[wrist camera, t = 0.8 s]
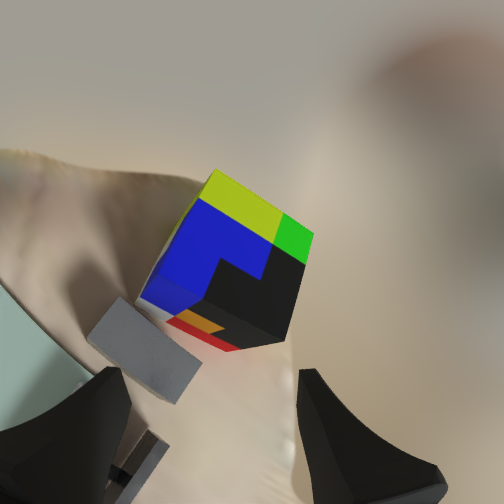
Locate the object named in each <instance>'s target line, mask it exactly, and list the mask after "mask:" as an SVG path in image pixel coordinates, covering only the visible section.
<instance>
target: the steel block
mask: <svg viewBox="0 0 504 504" xmlns="http://www.w3.org/2000/svg"><path fill="white" fill-rule="evenodd" d="M87 343H88V344H90V345H91V346H92V347H93V348H94V349H95V350H96V351H98V352H99V353H100V354H101V355H102V356H104V357H105V358H106V359H107V360H108V361H110V362H111V363H112V364H113V365H115V366H116V367H119V368H120V369H121V371H122V372H123V373H125V374H126V375H127V376H129V377H130V378H131V379H133V380H134V381H135V382H137V383H138V384H139V385H141V386H142V387H143V388H145V389H146V390H147V391H149V392H150V393H152V394H153V395H154V396H156V397H157V398H159V399H161V400H164V401H166V402H169V403H172V404H174V405H175V404H176V402H177V401H178V399H179V398H180V396H181V395H182V393H183V392H184V390H185V389H186V387H187V386H188V384H189V383H190V381H191V380H192V378H193V377H194V375H195V374H196V372H197V370H198V369H199V367H200V366H201V364H202V362H201V361H199V360H198V359H197V358H195V357H194V356H193V355H191V354H190V353H189V352H187V351H186V350H185V349H183V348H182V347H181V346H180V345H178V344H177V343H176V342H174V341H173V340H172V339H171V338H169V337H168V336H167V335H166V334H164V333H163V332H162V331H161V330H159V329H158V328H157V327H156V326H154V325H153V324H152V323H151V322H150V321H148V320H147V319H146V318H145V317H144V316H142V315H141V314H140V313H139V312H138V311H136V310H135V309H134V308H133V307H132V306H131V305H129V304H128V303H127V302H126V301H125V300H124V299H123V298H121V297H120V296H119V298H118V299H117V300H116V301H115V302H114V304H113V305H112V306H111V307H110V309H109V310H108V311H107V312H106V313H105V315H104V316H103V317H102V318H101V320H100V321H99V322H98V323H97V325H96V326H95V327H94V328H93V330H92V331H91V332H90V333H89V335H88V336H87Z"/></svg>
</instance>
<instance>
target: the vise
mask: <svg viewBox="0 0 504 504" xmlns="http://www.w3.org/2000/svg"><path fill="white" fill-rule="evenodd" d="M93 377H94V376H93V375H92V374H91V373H89V372H88V371H87V370H86V369H85V368H83V367H82V366H81V365H80V364H79V363H78V362H76V361H75V360H74V359H73V358H72V357H71V356H70V355H69V354H67V353H66V352H65V351H64V350H63V349H62V348H61V347H60V346H59V345H58V344H57V343H55V342H54V341H53V340H52V339H51V338H50V337H49V336H48V335H47V334H46V333H45V332H44V331H43V330H42V329H41V328H40V327H39V326H38V325H37V324H36V323H35V322H34V321H33V320H32V319H31V318H30V317H29V316H28V315H27V314H26V313H25V311H24V310H23V309H22V308H21V307H20V306H19V305H18V304H17V303H16V302H15V301H14V299H13V298H12V297H11V296H10V295H9V294H8V293H7V291H6V290H5V289H4V288H3V287H2V286H1V284H0V431H2V430H6V429H9V428H12V427H14V426H17V425H20V424H22V423H24V422H26V421H29V420H31V419H33V418H35V417H37V416H39V415H41V414H43V413H44V412H46V411H48V410H50V409H51V408H53V407H54V406H56V405H57V404H59V403H60V402H62V401H63V400H64V399H66V398H67V397H69V395H70V394H71V393H72V391H73V390H74V388H75V387H76V386H77V384H78V383H79V382H80V380H81V381H83V382H84V383H87V382H88V381H89V380H90V379H92V378H93Z"/></svg>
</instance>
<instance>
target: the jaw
mask: <svg viewBox="0 0 504 504" xmlns="http://www.w3.org/2000/svg"><path fill="white" fill-rule="evenodd" d="M84 384H85V383H84V382H83V381H81V380H80V382H79V383H78V384H77V386H76V387H75V388H74V390H73V391H72V393H71V394H73V393H74V392H75V391H77V390H78V389H79V388H80V387H82V386H83V385H84ZM71 394H70V395H71ZM70 395H69V396H70ZM169 447H170V446H169V445H168V444H167V443H166V442H165V441H164V440H162V439H161V438H160V437H159V436H158V435H156V434H155V433H153V432H152V431H150V430H149V429H147V431H146V432H145V434H144V435H143V436H142V438H141V439H140V441H139V442H138V444H137V445H136V447H135V448H134V450H133V451H132V452H131V454H130V455H129V457H128V458H127V460H126V461H125V463H124V464H123V465H122V467H121V468H119V467H117V466H115V465H114V464H112V463H111V466H110V469H109V474H108V479H110V480H111V483H110V484H109V486H108V487H107V488H106V490H105V493H104V499H103V504H130V503H131V502H132V501H133V499H134V498H135V496H136V495H137V493H138V492H139V491H140V489H141V488H142V486H143V485H144V483H145V482H146V480H147V479H148V478H149V476H150V475H151V473H152V472H153V470H154V469H155V467H156V466H157V464H158V463H159V461H160V460H161V458H162V457H163V456H164V454H165V453H166V451H167V450H168V448H169Z"/></svg>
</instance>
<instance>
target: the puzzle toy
mask: <svg viewBox="0 0 504 504" xmlns="http://www.w3.org/2000/svg"><path fill="white" fill-rule="evenodd" d="M313 234H314V233H312V232H311V231H310V230H308V229H307V228H305V227H303V226H302V225H301V224H299V223H298V222H296V221H295V220H294V219H292V218H291V217H289V216H288V215H286V214H285V213H283V212H282V211H280V210H279V209H277V208H276V207H274V206H273V205H271V204H270V203H268V202H267V201H265V200H264V199H262V198H261V197H259V196H258V195H256V194H255V193H253V192H252V191H250V190H249V189H247V188H246V187H244V186H242V185H241V184H239V183H238V182H236V181H235V180H233V179H232V178H230V177H228V176H227V175H225V174H224V173H222V172H221V171H219V170H217V169H215V170H214V171H213V173H212V174H211V175H210V177H209V178H208V179H207V181H206V182H205V184H204V185H203V186H202V188H201V189H200V191H199V192H198V193H197V195H196V196H195V198H194V199H193V200H192V202H191V203H190V205H189V206H188V208H187V209H186V210H185V212H184V213H183V215H182V216H181V218H180V219H179V221H178V222H177V224H176V226H175V228H174V229H173V231H172V233H171V235H170V237H169V238H168V240H167V242H166V244H165V246H164V247H163V249H162V251H161V253H160V255H159V257H158V259H157V260H156V262H155V264H154V266H153V268H152V270H151V272H150V274H149V276H148V278H147V280H146V281H145V283H144V285H143V287H142V289H141V291H140V293H139V295H138V297H137V299H136V301H135V303H134V305H135V306H137V307H139V308H141V309H142V310H144V311H146V312H148V313H150V314H151V315H153V316H155V317H157V318H159V319H161V320H163V321H165V322H167V323H168V324H170V325H172V326H174V327H176V328H178V329H180V330H182V331H184V332H186V333H188V334H190V335H192V336H194V337H196V338H198V339H200V340H202V341H204V342H206V343H208V344H210V345H213V346H215V347H217V348H219V349H221V350H223V351H225V352H229V351H235V350H241V349H247V348H252V347H258V346H263V345H268V344H274V343H279V342H284V341H285V338H286V334H287V331H288V327H289V324H290V320H291V317H292V313H293V310H294V306H295V303H296V299H297V295H298V292H299V288H300V285H301V281H302V277H303V273H304V270H305V266H306V262H307V258H308V254H309V250H310V246H311V242H312V238H313Z"/></svg>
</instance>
